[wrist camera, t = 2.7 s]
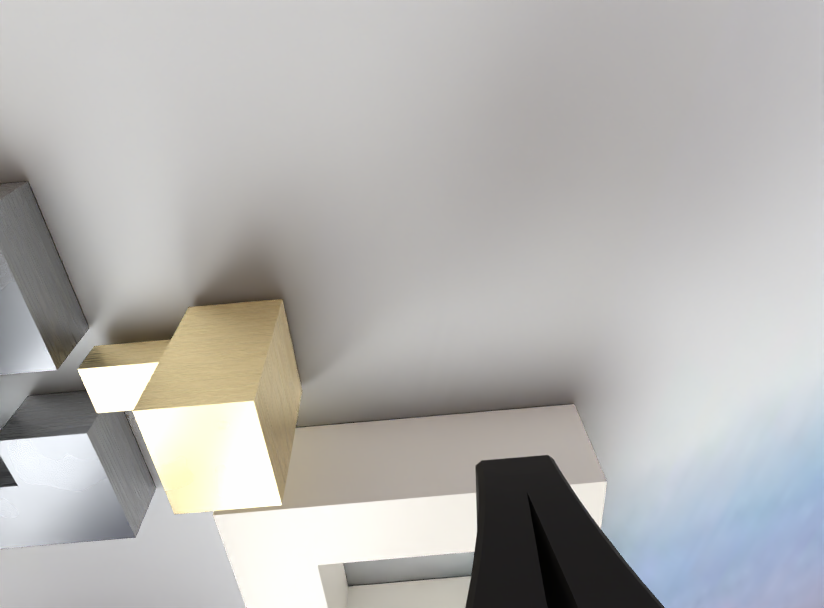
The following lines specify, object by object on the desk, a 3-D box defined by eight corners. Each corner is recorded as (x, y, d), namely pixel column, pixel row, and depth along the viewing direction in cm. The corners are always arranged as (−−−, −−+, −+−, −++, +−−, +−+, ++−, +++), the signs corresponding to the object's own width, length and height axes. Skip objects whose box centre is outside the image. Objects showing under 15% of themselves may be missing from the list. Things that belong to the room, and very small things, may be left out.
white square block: (557, 606, 23) (579, 690, 20) (295, 628, 23) (284, 715, 20) (573, 403, 18) (607, 481, 15) (237, 432, 18) (212, 515, 15)
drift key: (302, 391, 17) (281, 505, 13) (124, 406, 17) (58, 524, 13) (282, 298, 15) (253, 400, 12) (86, 315, 15) (1, 422, 12)
